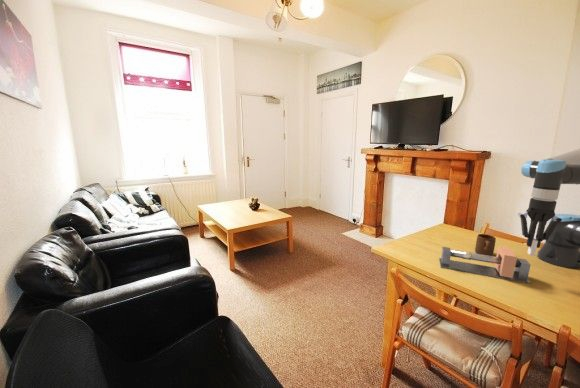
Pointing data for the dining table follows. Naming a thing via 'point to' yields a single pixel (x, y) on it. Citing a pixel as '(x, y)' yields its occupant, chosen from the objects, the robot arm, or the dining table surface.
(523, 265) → the pipe rig
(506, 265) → the collar
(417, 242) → the dining table surface
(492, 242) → the mug
